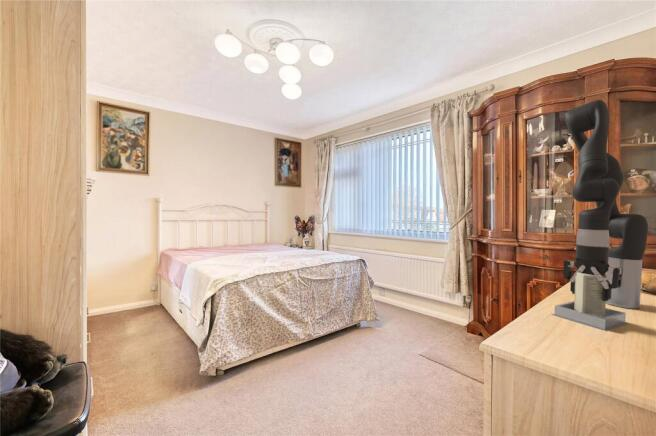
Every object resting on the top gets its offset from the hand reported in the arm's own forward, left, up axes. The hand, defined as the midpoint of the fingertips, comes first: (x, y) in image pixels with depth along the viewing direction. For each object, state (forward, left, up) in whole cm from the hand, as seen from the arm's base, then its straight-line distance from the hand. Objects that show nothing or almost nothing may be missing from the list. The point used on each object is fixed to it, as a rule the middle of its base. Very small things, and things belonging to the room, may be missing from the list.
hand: (589, 297), depth 91 cm
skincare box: (0, 0, -5) cm, 5 cm away
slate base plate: (0, 0, -8) cm, 8 cm away
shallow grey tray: (0, 0, -7) cm, 7 cm away
